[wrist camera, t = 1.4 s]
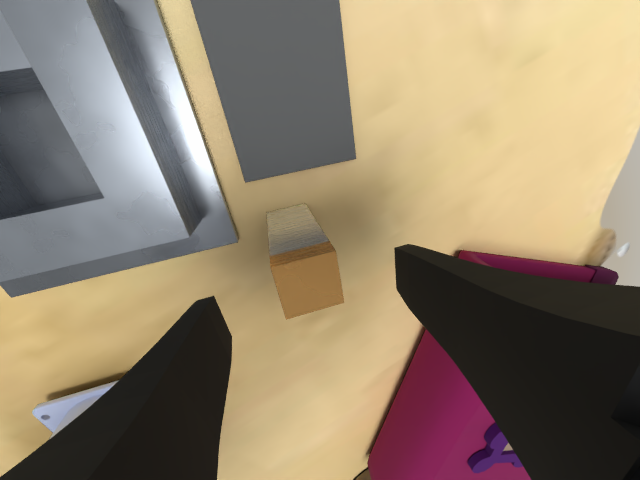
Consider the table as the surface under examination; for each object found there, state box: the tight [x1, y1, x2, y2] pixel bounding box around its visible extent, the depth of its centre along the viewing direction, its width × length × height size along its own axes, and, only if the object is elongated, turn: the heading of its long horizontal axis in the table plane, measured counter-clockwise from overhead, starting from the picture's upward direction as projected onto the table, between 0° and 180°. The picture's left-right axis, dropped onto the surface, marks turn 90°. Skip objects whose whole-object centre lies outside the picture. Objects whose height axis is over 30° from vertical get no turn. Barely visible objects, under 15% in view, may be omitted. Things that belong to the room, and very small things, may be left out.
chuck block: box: [0, 0, 239, 297], centre depth 11 cm, size 14×13×4 cm
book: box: [368, 250, 618, 480], centre depth 25 cm, size 21×28×8 cm
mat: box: [191, 0, 356, 182], centre depth 14 cm, size 9×7×1 cm
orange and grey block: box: [266, 204, 344, 319], centre depth 14 cm, size 3×3×8 cm
